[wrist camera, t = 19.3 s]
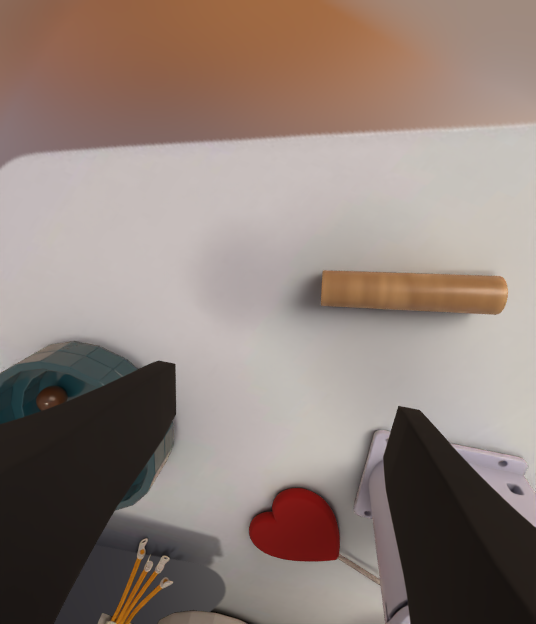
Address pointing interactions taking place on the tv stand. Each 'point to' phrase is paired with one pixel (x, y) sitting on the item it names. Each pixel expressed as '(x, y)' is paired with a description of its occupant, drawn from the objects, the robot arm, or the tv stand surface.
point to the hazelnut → (51, 397)
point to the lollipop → (300, 530)
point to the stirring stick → (414, 291)
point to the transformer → (114, 623)
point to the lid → (198, 618)
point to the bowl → (75, 393)
